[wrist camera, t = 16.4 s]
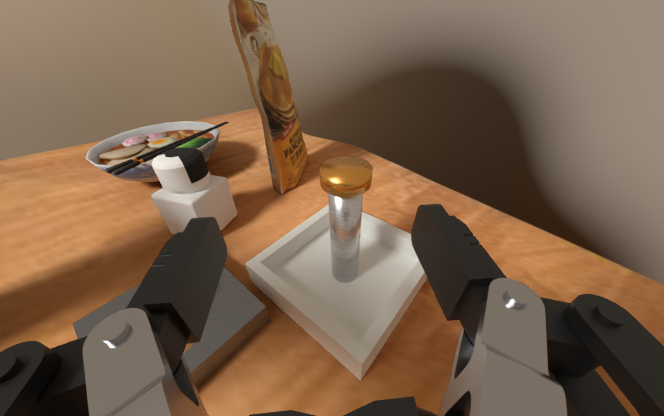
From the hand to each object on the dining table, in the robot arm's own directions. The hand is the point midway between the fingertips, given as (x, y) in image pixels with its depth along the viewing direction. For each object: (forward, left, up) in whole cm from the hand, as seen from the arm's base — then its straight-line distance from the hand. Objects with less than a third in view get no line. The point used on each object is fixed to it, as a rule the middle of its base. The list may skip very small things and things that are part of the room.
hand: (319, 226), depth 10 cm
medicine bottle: (-29, +4, -19) cm, 35 cm away
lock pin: (-6, +10, -18) cm, 21 cm away
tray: (-6, +10, -18) cm, 22 cm away
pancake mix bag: (-31, +23, -19) cm, 43 cm away
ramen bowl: (-51, +8, -19) cm, 55 cm away
